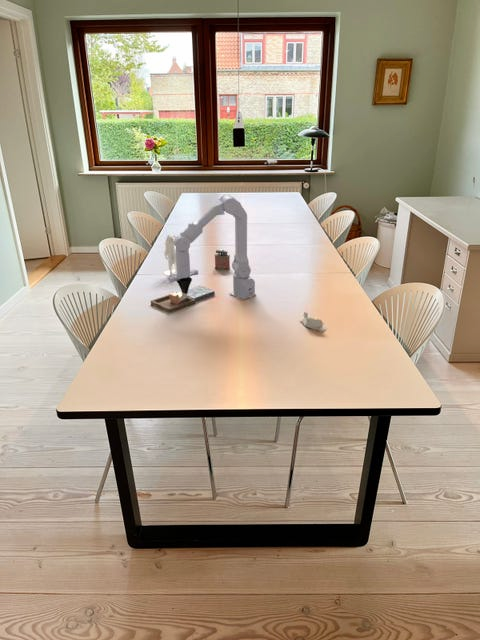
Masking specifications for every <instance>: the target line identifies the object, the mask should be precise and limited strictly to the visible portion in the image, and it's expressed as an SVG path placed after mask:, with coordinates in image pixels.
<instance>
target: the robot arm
mask: <svg viewBox="0 0 480 640" xmlns="http://www.w3.org/2000/svg"><path fill="white" fill-rule="evenodd" d="M225 213H227V214H229V215H231V216H233V218H234V221H235V222H234V223H235V224H234V228H235V229H234V230H235V231H234V232H235V233H234V236H235V237H234V238H235V239H234V241H235V243H234V244H235V247H234V248H235V252H234V255H233V256H234V257H233V262H231V263H232V264H231V267H232V269H233V270H234V272H233V274H232V275H233V276H232V278H233V279H232V280H233V281H232V283H233V285H232V286H233V291H232V292H229V293H228V294H229V295H230V296H233V297H235V298H238V299H241V300H246V299H249V298H252V297H254V296H256V295H257V293H255V292H256V291H255V289H256V288H255V287H256V281H255V280H254V279H253V278H252V277H251V272H252V271H251V270H252V269H251V266H250V262H249V257H248V213H247V211H246V210H245V208H244V206H243V205H242V204H241V202H239V200H237V199H236V198H234V197H233V196H232V195H230V194H228V193H227V194H226V193H225V194H223V195H221V197H220V198H218V199H217V200H216V201H215V202H214V203H213V204H212V206H210V208H209V209H207V211H206V212H205V213H204V214H203V215H202V216H201V218H199V219H198V221H193V222H192V223H190V222H189V223H188V224H187V227H186V228H185V229H184V230H183V231H180V233H179V235H176V236H175V237H176V238H174V247H175V253H176V268H177V272H176V274H175V275H173V276H168V282H169V283H170V284H171V283H174V282H177V284H178V286H179V288H180V292H183V293H185V294H187V293H188V289H190V285H191V283H192V282H193V278H192V277H193V276H198V275H199V270H197V269H191V262H190V261H191V260H190V253H189V252H190V251H189V249H190V247H191V244H192V243H193V242H194V241H196V239H197V238H198V237H199V236H201V235H202V233H203V230H204V228H205V226H207V225H208V224H209V223H210V222H211V221H213V219H215V218H216V217H217V216H223V215H225Z"/></svg>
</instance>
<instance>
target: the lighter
mask: <svg viewBox="0 0 480 640" xmlns="http://www.w3.org/2000/svg"><path fill="white" fill-rule="evenodd" d="M230 257H231V255H230V254H228V251H227V250H224V249H222V250H221V249H216V250H215V254H214V269H215V270H216V271H230V270H231V267H230V266H231V265H230V263H231V262H230V259H231V258H230Z"/></svg>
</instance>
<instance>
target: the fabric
mask: <svg viewBox="0 0 480 640" xmlns="http://www.w3.org/2000/svg"><path fill="white" fill-rule="evenodd" d="M299 322H300V323H301V324H303V326H304V327H306V328H309V329H311V330H314V331H315V330H316V331H320V333H322V332H324V331H326V330H328V329H329V328H328V327H325V326H323V325H324V324H325V323H324V322H323V321H322V319H319V318H317V319H315V318H313V317H309V314H308V312H305V311H304V312H303V318H302V319H301V320H299Z"/></svg>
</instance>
